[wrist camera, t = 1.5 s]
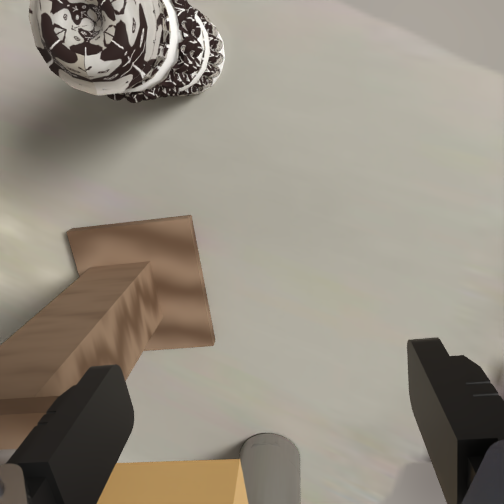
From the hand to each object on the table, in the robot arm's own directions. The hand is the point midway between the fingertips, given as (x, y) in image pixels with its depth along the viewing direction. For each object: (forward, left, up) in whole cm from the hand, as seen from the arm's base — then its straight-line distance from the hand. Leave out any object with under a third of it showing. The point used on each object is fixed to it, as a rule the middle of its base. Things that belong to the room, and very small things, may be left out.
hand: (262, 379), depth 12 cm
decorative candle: (+13, +10, -42) cm, 45 cm away
